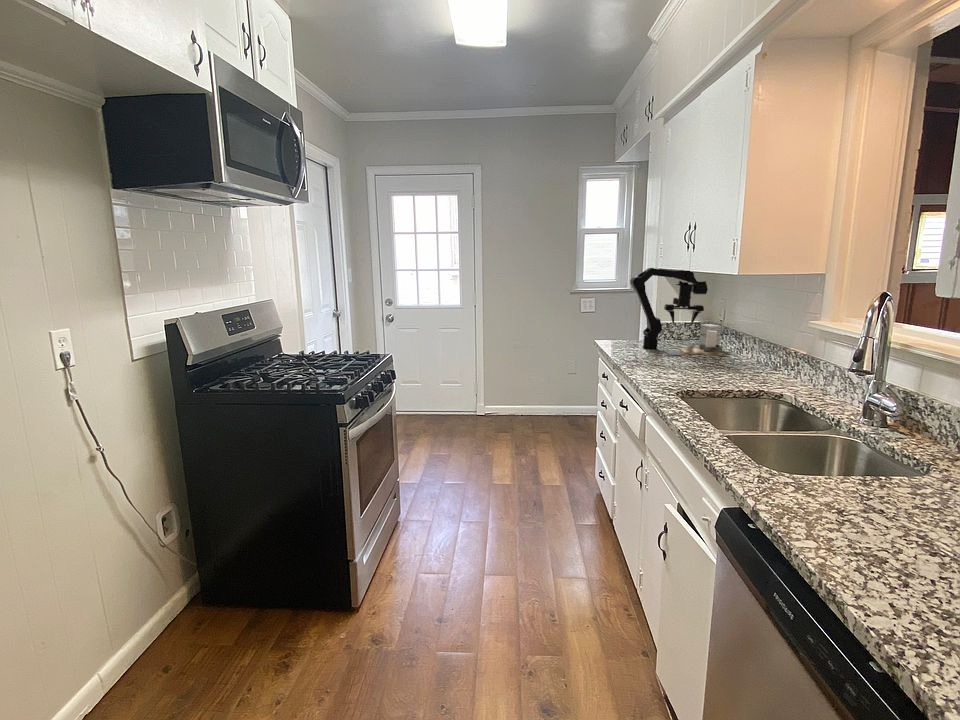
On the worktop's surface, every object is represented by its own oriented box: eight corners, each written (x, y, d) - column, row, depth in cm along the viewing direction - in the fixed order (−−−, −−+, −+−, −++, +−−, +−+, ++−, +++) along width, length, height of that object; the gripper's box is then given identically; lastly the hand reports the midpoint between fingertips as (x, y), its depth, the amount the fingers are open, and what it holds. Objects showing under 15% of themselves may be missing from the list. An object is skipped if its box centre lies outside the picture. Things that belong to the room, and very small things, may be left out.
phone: (667, 356, 258) (667, 354, 258) (666, 352, 269) (667, 350, 269) (681, 357, 256) (681, 355, 256) (680, 353, 267) (680, 350, 267)
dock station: (684, 353, 262) (685, 346, 261) (679, 349, 275) (679, 341, 274) (723, 355, 259) (724, 347, 258) (716, 350, 271) (717, 343, 271)
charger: (705, 351, 266) (707, 331, 263) (705, 349, 270) (707, 330, 268) (715, 351, 264) (717, 332, 262) (715, 350, 268) (717, 330, 266)
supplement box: (698, 347, 280) (700, 324, 277) (709, 347, 282) (711, 323, 279) (707, 350, 273) (710, 326, 270) (719, 349, 275) (721, 325, 272)
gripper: (700, 293, 277) (697, 322, 280) (663, 292, 280) (661, 321, 283) (705, 295, 266) (702, 325, 270) (667, 294, 269) (664, 324, 273)
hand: (682, 324), depth 274 cm, fingers open, 9 cm apart
